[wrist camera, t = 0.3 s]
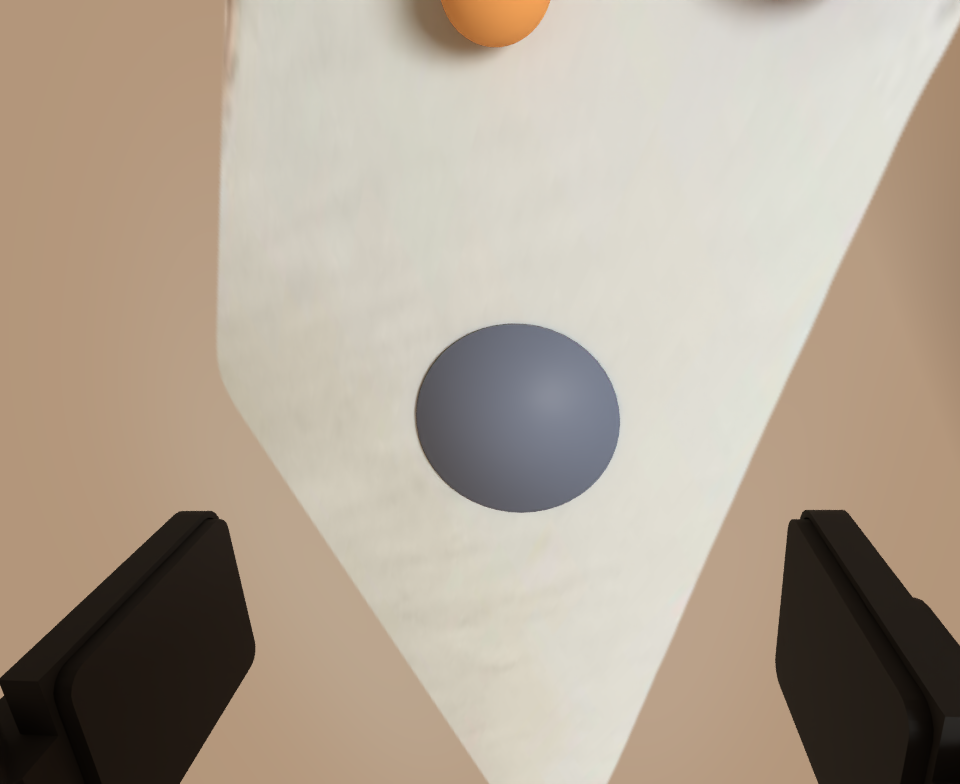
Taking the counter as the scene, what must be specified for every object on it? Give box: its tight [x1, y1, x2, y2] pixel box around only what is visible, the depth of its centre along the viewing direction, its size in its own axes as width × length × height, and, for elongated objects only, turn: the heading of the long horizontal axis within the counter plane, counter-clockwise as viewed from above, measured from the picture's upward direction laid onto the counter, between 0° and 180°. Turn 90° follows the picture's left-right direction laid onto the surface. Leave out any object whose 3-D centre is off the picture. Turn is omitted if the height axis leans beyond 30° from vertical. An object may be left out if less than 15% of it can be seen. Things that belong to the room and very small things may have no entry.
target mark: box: [416, 324, 620, 513], centre depth 42 cm, size 13×13×1 cm
